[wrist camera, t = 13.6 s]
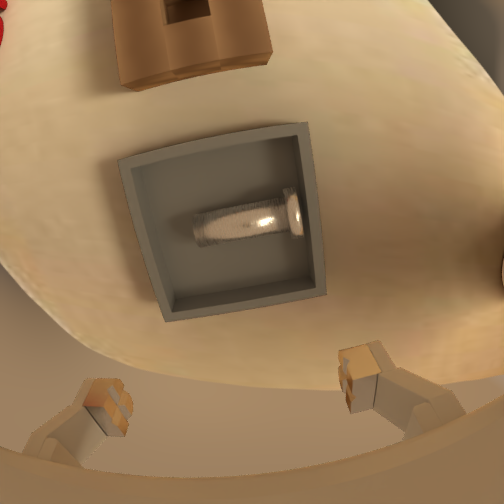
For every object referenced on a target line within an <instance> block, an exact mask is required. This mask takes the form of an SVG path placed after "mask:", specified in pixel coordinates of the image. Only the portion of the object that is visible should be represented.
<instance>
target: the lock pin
mask: <svg viewBox="0 0 504 504" xmlns="http://www.w3.org/2000/svg"><path fill="white" fill-rule="evenodd" d="M282 190H283V197H281V198H276V199H270V200H265V201H259V202H254V203H249V204H244V205H239V206H234V207H229V208H224V209H219V210H214V211H209V212H205V213H200V214H195V215H193V219H192V226H193V233H194V237H195V240H196V243H197V245H198V246H199V247H200V248H202V247H208V246H213V245H218V244H224V243H229V242H234V241H240V240H245V239H251V238H256V237H261V236H267V235H272V234H278V233H283V232H289V231H290V234H291V238H292V239H296V238H302V237H304V233H303V224H302V218H301V212H300V207H299V202H298V198H297V194H296V190H295V188H294V187H291V188H285V189H282Z"/></svg>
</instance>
